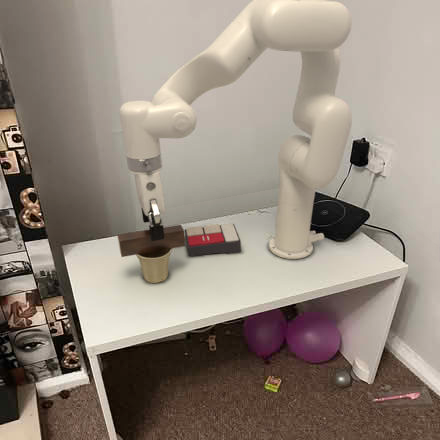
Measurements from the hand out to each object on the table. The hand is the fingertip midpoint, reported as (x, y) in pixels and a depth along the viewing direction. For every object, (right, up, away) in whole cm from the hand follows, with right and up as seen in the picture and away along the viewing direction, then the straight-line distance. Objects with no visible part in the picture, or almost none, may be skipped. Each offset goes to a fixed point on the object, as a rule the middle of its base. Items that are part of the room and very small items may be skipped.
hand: (153, 230), depth 107 cm
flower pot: (-1, -11, +8) cm, 14 cm away
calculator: (+14, -1, +21) cm, 25 cm away
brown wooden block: (-1, -4, +3) cm, 5 cm away
